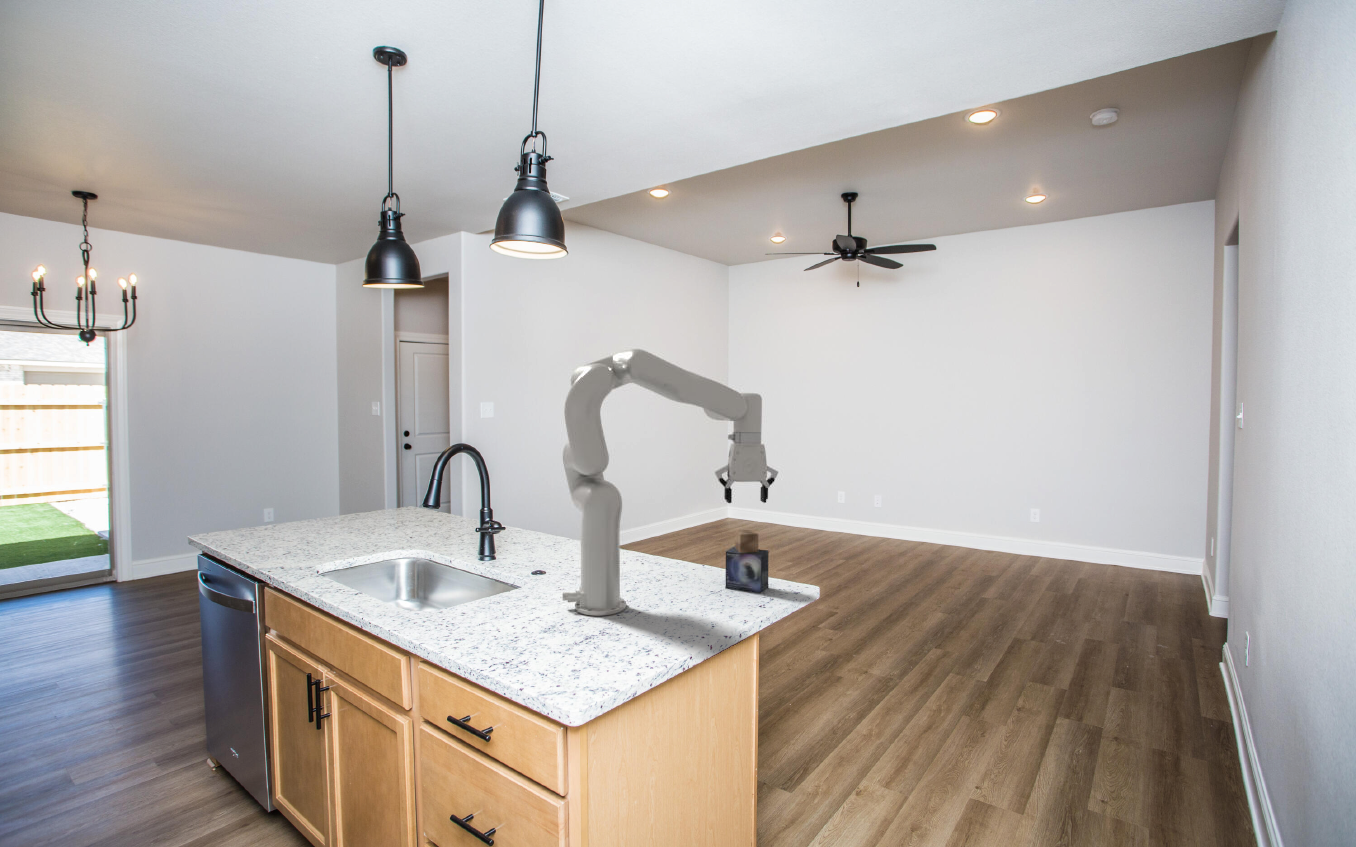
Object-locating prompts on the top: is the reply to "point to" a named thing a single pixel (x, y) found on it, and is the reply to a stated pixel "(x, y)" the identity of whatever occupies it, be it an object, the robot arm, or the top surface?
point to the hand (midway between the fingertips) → (746, 502)
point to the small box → (747, 570)
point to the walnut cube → (746, 541)
